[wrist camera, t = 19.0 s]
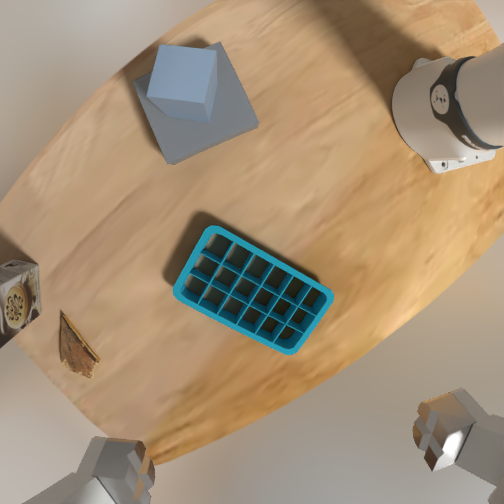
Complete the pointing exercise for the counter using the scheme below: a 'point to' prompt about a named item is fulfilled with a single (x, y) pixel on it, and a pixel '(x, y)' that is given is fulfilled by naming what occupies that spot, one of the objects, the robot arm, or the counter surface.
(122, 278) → the counter surface
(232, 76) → the charcoal block
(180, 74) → the slate-blue block
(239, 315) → the ice cube tray
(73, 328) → the shard
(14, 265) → the coffee box
